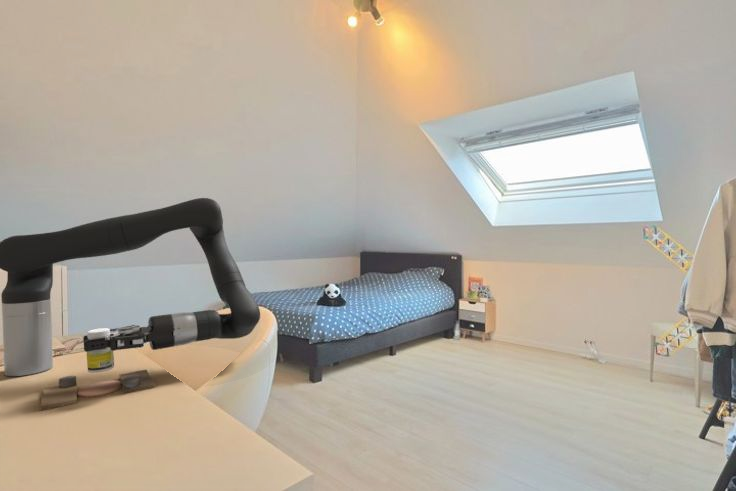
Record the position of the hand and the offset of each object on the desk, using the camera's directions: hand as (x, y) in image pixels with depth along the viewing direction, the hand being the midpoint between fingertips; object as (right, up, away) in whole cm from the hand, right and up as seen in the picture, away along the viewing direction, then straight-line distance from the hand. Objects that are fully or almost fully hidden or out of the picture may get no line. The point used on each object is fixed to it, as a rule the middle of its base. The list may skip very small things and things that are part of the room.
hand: (84, 343), depth 85 cm
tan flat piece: (+2, -10, +2) cm, 10 cm away
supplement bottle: (+2, -6, +2) cm, 7 cm away
